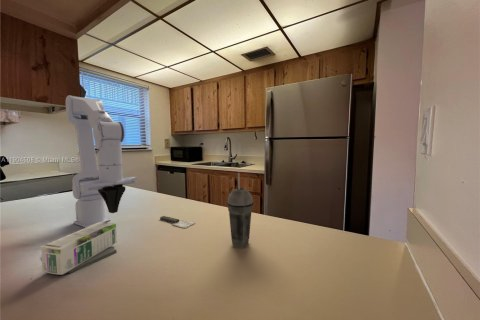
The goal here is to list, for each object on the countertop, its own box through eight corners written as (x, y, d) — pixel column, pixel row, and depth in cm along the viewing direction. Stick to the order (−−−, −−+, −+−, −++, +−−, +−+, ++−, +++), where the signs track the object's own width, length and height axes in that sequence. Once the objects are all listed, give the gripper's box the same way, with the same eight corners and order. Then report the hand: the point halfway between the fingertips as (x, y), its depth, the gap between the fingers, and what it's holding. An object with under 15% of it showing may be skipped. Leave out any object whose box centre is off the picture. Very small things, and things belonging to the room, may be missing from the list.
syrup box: (117, 243, 56) (62, 276, 42) (99, 241, 58) (40, 272, 43) (116, 223, 56) (60, 249, 42) (98, 221, 57) (38, 246, 43)
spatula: (156, 221, 74) (156, 218, 74) (167, 217, 79) (167, 214, 78) (185, 228, 67) (185, 225, 67) (195, 223, 72) (195, 220, 72)
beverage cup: (256, 240, 59) (256, 171, 58) (249, 252, 52) (249, 174, 51) (232, 236, 61) (232, 170, 60) (223, 248, 55) (222, 173, 53)
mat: (43, 256, 51) (42, 254, 51) (88, 240, 60) (88, 238, 60) (69, 273, 44) (69, 270, 44) (116, 252, 53) (116, 249, 53)
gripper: (88, 168, 49) (92, 223, 50) (142, 163, 62) (144, 207, 63) (74, 166, 53) (78, 218, 54) (128, 162, 65) (130, 204, 66)
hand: (113, 212), depth 59 cm, fingers closed
